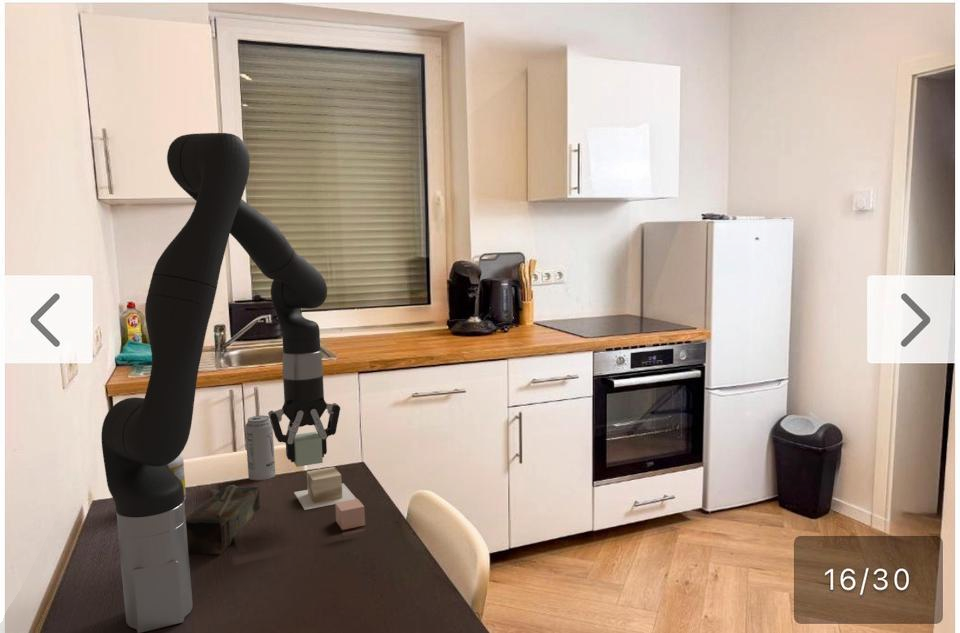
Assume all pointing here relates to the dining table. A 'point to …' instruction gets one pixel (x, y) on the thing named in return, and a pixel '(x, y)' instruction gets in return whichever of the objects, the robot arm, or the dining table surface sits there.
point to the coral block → (350, 515)
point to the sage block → (308, 449)
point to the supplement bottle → (178, 470)
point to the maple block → (324, 484)
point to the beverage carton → (221, 519)
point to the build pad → (309, 504)
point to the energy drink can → (260, 448)
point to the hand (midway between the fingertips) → (307, 458)
